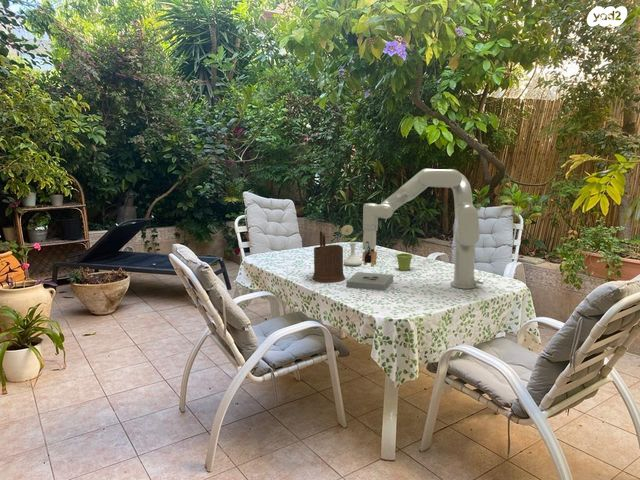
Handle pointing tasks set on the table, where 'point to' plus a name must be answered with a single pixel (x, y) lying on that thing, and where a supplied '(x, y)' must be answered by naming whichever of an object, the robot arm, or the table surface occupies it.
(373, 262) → the plug
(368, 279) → the socket
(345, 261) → the flower in vase
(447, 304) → the table surface
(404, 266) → the plant pot
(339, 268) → the brown cylinder
